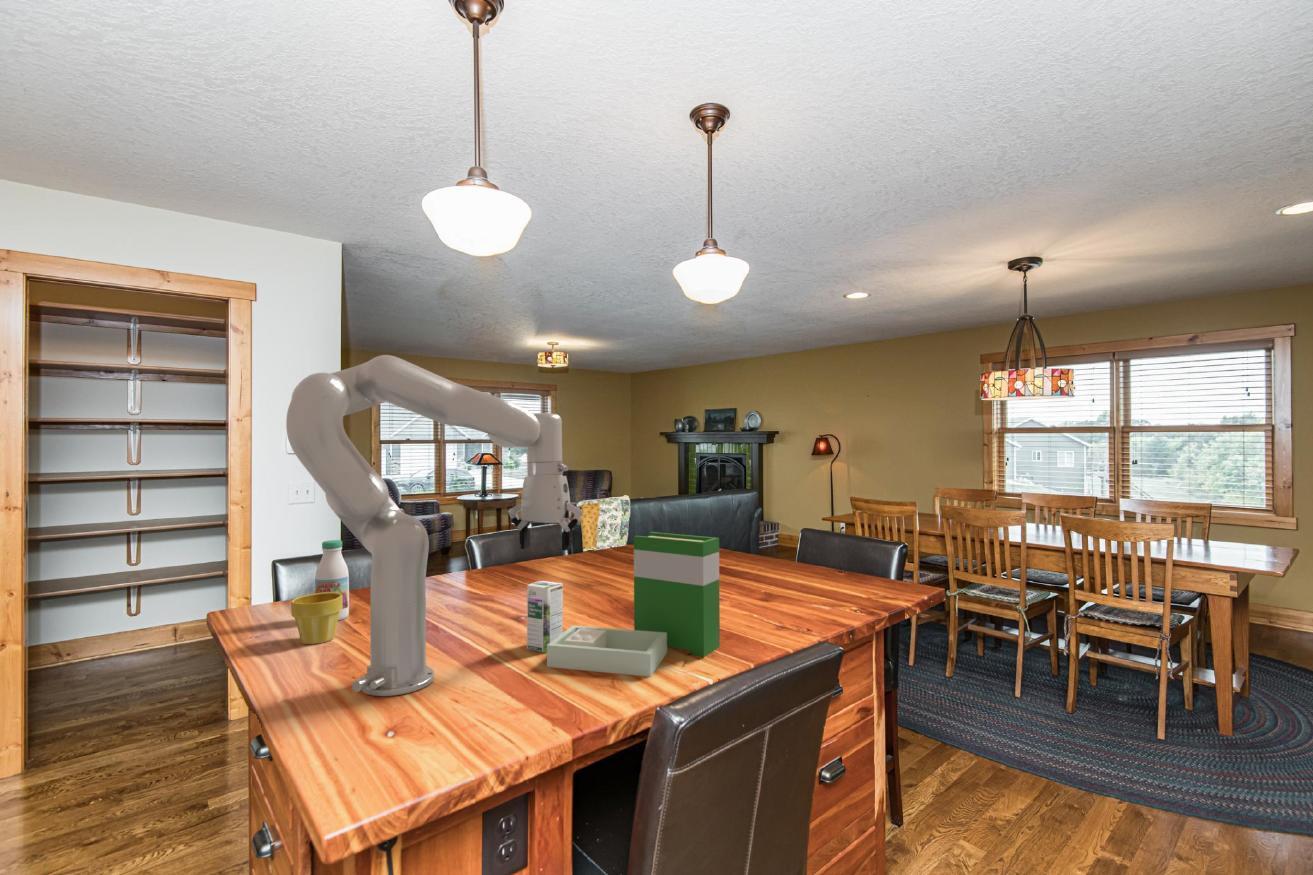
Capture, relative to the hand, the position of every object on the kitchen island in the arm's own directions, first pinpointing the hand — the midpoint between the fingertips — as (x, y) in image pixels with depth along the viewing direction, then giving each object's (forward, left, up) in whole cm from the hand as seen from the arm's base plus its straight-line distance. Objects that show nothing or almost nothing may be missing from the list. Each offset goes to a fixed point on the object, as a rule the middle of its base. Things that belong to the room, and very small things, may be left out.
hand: (545, 548), depth 129 cm
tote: (-4, -16, -22) cm, 27 cm away
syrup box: (0, 0, -22) cm, 22 cm away
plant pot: (-6, +54, -22) cm, 59 cm away
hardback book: (+10, -27, -22) cm, 36 cm away
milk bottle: (+9, +64, -22) cm, 68 cm away
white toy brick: (-4, -11, -21) cm, 24 cm away
